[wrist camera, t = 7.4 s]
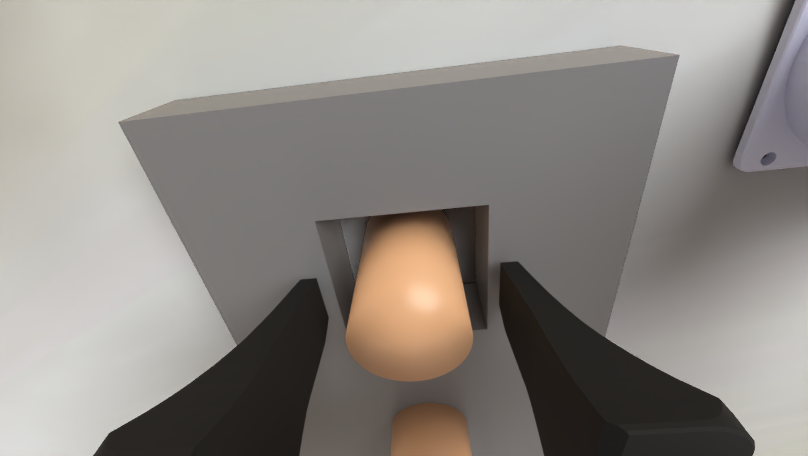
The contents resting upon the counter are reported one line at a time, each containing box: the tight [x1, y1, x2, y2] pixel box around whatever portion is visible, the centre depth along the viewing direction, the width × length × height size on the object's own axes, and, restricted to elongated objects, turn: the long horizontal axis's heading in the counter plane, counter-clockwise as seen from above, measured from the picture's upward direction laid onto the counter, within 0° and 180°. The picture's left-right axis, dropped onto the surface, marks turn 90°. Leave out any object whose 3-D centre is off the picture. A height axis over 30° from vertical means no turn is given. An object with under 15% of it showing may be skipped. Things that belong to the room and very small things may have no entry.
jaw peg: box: [346, 209, 473, 382], centre depth 14 cm, size 4×4×6 cm
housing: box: [119, 46, 679, 456], centre depth 16 cm, size 16×24×6 cm, turn 7°
